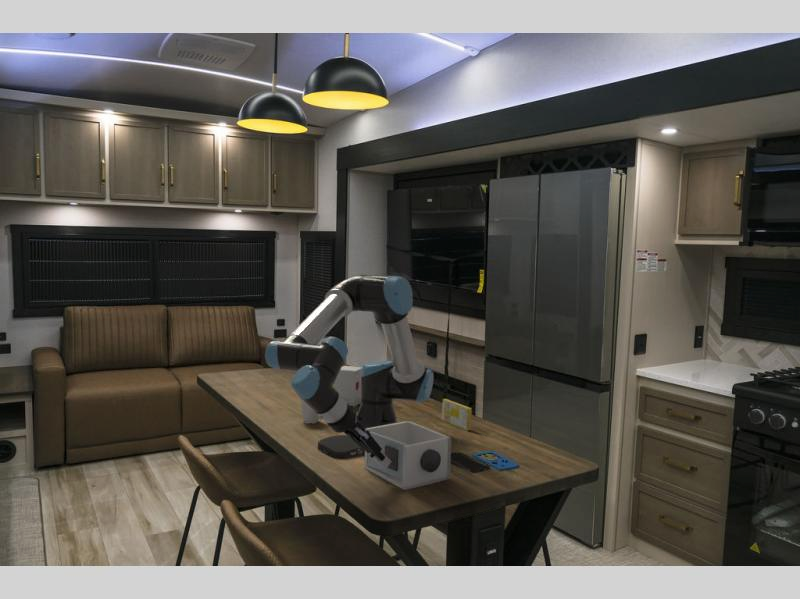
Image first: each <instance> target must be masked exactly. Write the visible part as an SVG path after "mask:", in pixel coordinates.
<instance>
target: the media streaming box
mask: <svg viewBox="0 0 800 599" xmlns="http://www.w3.org/2000/svg"><path fill="white" fill-rule="evenodd" d="M317 450H319V451H320V450H321V451H320V452H322V453H324V454H326V455H328V456H330V457H332V458H334V459H335V458H336V459H346V458H352V457H356V456H360V455H363V454H364V455H365V450H362V449H361V447H359V446H358V445H357V444H356V443H355V442H354V441H353V440H352V439H351V438H350V437H349V436H348V435H346V434H340V435H338V434H337V435H332V436H328V437H325V438H321V439H320V440H318V442H317Z"/></svg>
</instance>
